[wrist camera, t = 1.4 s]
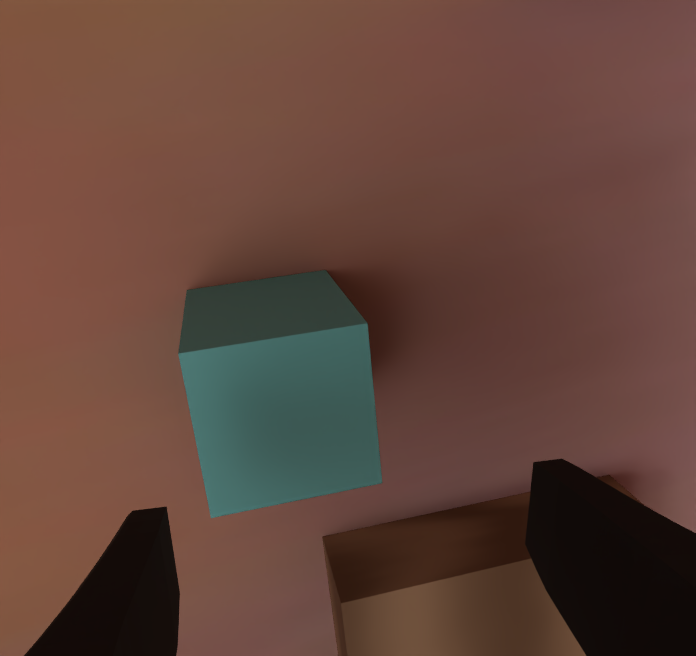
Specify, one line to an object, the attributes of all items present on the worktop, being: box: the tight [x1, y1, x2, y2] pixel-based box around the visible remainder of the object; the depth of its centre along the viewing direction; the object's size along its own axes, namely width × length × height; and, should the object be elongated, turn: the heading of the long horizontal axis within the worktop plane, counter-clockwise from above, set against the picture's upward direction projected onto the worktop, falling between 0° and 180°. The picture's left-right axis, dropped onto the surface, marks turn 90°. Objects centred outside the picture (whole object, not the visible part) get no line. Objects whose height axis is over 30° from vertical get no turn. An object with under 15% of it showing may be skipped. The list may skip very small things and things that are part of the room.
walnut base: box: [322, 475, 642, 656], centre depth 25 cm, size 12×12×4 cm
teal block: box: [178, 270, 382, 518], centre depth 19 cm, size 4×4×6 cm
